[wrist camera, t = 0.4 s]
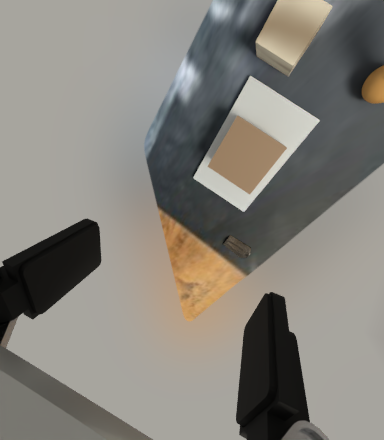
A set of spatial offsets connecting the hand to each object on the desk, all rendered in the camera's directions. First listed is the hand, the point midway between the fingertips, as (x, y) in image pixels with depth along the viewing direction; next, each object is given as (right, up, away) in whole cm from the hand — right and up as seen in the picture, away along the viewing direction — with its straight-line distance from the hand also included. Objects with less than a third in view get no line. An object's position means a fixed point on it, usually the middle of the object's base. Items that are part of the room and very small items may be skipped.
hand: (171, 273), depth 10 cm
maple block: (+14, +27, +15) cm, 34 cm away
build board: (+11, +14, +23) cm, 29 cm away
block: (+11, -3, +32) cm, 34 cm away
